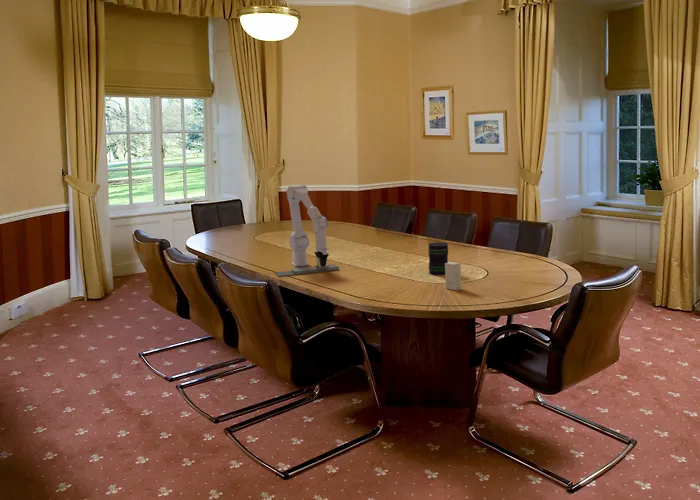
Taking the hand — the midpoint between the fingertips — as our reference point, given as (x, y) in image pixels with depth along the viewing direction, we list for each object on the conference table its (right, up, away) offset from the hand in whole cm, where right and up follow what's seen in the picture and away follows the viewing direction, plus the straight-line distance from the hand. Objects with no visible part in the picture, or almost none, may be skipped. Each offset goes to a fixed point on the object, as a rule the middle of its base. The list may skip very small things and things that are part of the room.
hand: (322, 265), depth 364 cm
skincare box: (+62, -10, -49) cm, 80 cm away
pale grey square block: (0, -2, 0) cm, 2 cm away
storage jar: (+60, -4, -17) cm, 62 cm away
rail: (-4, -3, -1) cm, 5 cm away
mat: (-19, -4, -6) cm, 20 cm away
